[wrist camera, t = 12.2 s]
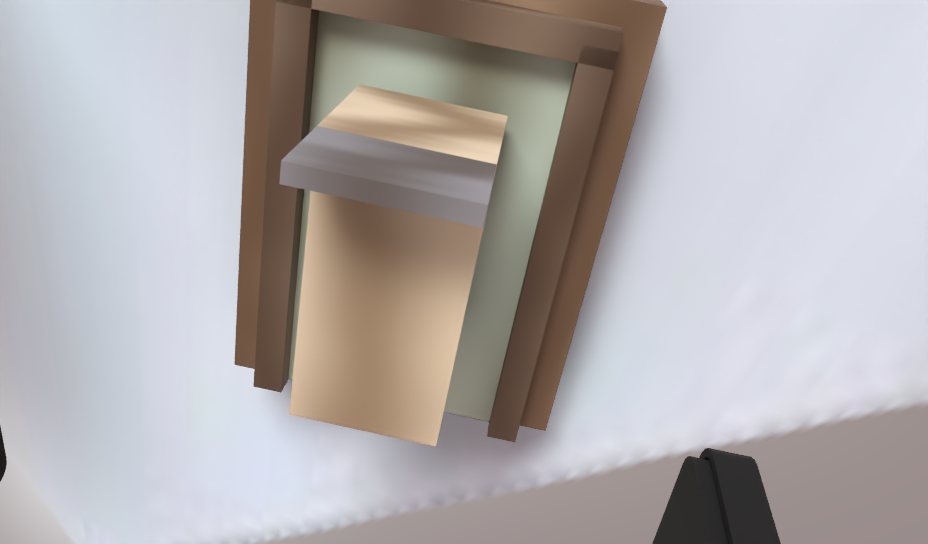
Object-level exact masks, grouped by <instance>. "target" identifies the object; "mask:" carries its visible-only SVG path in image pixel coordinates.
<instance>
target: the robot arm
mask: <svg viewBox="0 0 928 544" xmlns="http://www.w3.org/2000/svg"><path fill="white" fill-rule="evenodd" d="M5 469H6V454H5V448H4V443H3V438H2V432H1V427H0V481H1V479H2V477H3V475H4V472H5ZM653 544H781V543H780V540H779V537H778V533H777V530H776V527H775V523H774V520H773V517H772V513H771V510H770V507H769V503H768V500H767V497H766V493H765V490H764V486H763V483H762V480H761V476H760V473H759V470H758V466H757V464H756V462H755V460H754V459H753V458H752V457H749V456H744V455H739V454H734V453H729V452H725V451H719V450H715V449H710V448H707V449H705V450H704V451H703V452H702V453H701V455H700V457H699V458H696V457H691V456H688V457H687V458H686V459H685V461H684V463H683V465H682V468H681V470H680V473H679V475H678V478H677V481H676V483H675V486H674V489H673V491H672V494H671V496H670V499H669V502H668V504H667V507H666V510H665V512H664V515H663V518H662V521H661V523H660V525H659V528H658V531H657V533H656V536H655V538H654V541H653Z"/></svg>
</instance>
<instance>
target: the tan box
mask: <svg viewBox="0 0 928 544" xmlns="http://www.w3.org/2000/svg"><path fill="white" fill-rule="evenodd" d="M507 117H508V116H506V115H501V114H497V113H492V112H487V111H483V110H478V109H473V108H469V107H464V106H459V105H454V104H450V103H445V102H440V101H436V100H431V99H426V98H422V97H417V96H412V95H408V94H403V93H398V92H394V91H389V90H384V89H380V88H375V87H370V86H366V85H361V84H359V85H358V86H357V87H356V88H355V89H354V90H353V91H352V92H351V93H350V94H349V95H348V96H347V97H346V98H345V99H344V100H343V101H342V102H341V103H340V104H339V105H338V106H337V107H336V108H335V109H334V110H333V111H332V112H331V113H330V114H329V115H328V116H327V117H325V118H324V119H323V120H322V121H321V122H320V123H319V124H318V125H317V126H316V127H315V128H314V129H313V130H312V131H311V132H310V133H309V134H308V135H307V136H306V137H305V138H304V139H303V140H302V141H301V142H300V143H299V144H298V145H297V146H296V147H295V148H294V149H293V150H292V151H290V152H289V153H288V154H287V155H286V156H285V157H284V158H283V159H282V160H281V169H280V182H279V184H282V185H286V186H291V187H296V188H300V189H305V190H310V191H311V193H310V203H309V213H308V224H307V234H306V244H305V255H304V265H303V275H302V286H301V296H300V306H299V317H298V327H297V337H296V348H295V358H294V368H293V379H292V389H291V399H290V410H289V414H290V415H295V416H299V417H304V418H308V419H313V420H317V421H322V422H326V423H331V424H336V425H340V426H345V427H349V428H354V429H358V430H363V431H367V432H372V433H376V434H381V435H385V436H390V437H394V438H399V439H404V440H408V441H413V442H417V443H422V444H426V445H431V446H435V447H436V445H437V440H438V436H439V431H440V426H441V422H442V417H443V413H444V408H445V404H446V399H447V395H448V390H449V385H450V381H451V376H452V372H453V367H454V363H455V358H456V353H457V349H458V344H459V340H460V335H461V331H462V326H463V321H464V317H465V312H466V308H467V303H468V298H469V294H470V289H471V284H472V279H473V275H474V270H475V265H476V261H477V256H478V252H479V247H480V242H481V238H482V233H483V228H484V224H485V219H486V214H487V210H488V205H489V201H490V196H491V191H492V187H493V182H494V178H495V173H496V169H497V164H498V159H499V155H500V150H501V146H502V141H503V136H504V132H505V127H506V122H507Z"/></svg>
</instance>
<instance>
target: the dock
mask: <svg viewBox="0 0 928 544" xmlns="http://www.w3.org/2000/svg"><path fill="white" fill-rule="evenodd" d="M666 9H667V7H666V6H665V5H664V3H663V2H662V1H661V0H250V20H249V43H248V67H247V90H246V113H245V136H244V160H243V183H242V206H241V229H240V253H239V276H238V299H237V323H236V346H235V365H239V366H244V367H248V368H253V369H255V372H254V387H259V388H263V389H268V390H273V391H277V392H281V391H282V390H283V388H284V386H285V384H286V382H287V380H288V379H291V380H292V379H293V368H294V358H295V348H296V337H297V327H298V317H299V306H300V296H301V286H302V275H303V265H304V255H305V244H306V234H307V224H308V213H309V203H310V193H311V191H310V190H305V189H300V188H296V187H291V186H286V185H282V184H279V182H280V169H281V160H282V159H283V158H284V157H285V156H286V155H287V154H288V153H289V152H290V151H292V150H293V149H294V148H295V147H296V146H297V145H298V144H299V143H300V142H301V141H302V140H303V139H304V138H305V137H306V136H307V135H308V134H309V133H310V132H311V131H312V130H313V129H314V128H315V127H316V126H317V125H318V124H319V123H320V122H321V121H322V120H323V119H324V118H325V117H327V116H328V115H329V114H330V113H331V112H332V111H333V110H334V109H335V108H336V107H337V106H338V105H339V104H340V103H341V102H342V101H343V100H344V99H345V98H346V97H347V96H348V95H349V94H350V93H351V92H352V91H353V90H354V89H355V88H356V87H357V86H358V85H359V84H361V85H366V86H370V87H375V88H380V89H384V90H389V91H394V92H398V93H403V94H408V95H412V96H417V97H422V98H426V99H431V100H436V101H440V102H445V103H450V104H454V105H459V106H464V107H469V108H473V109H478V110H483V111H487V112H492V113H497V114H501V115H506V116H508V117H507V122H506V127H505V132H504V136H503V141H502V146H501V150H500V155H499V159H498V164H497V169H496V173H495V178H494V182H493V187H492V191H491V196H490V201H489V205H488V210H487V214H486V219H485V224H484V228H483V233H482V238H481V242H480V247H479V252H478V256H477V261H476V265H475V270H474V275H473V279H472V284H471V289H470V294H469V298H468V303H467V308H466V312H465V317H464V321H463V326H462V331H461V335H460V340H459V344H458V349H457V353H456V358H455V363H454V367H453V372H452V376H451V381H450V385H449V390H448V395H447V399H446V404H445V408H444V412H446V413H451V414H456V415H460V416H465V417H470V418H474V419H479V420H484V421H488V422H489V427H488V434H487V436H488V437H493V438H498V439H502V440H507V441H512V442H515V440H516V436H517V432H518V429H519V425H521V426H526V427H530V428H535V429H540V430H544V431H545V430H546V427H547V423H548V420H549V416H550V413H551V409H552V406H553V402H554V399H555V395H556V392H557V388H558V385H559V381H560V378H561V374H562V371H563V368H564V364H565V361H566V357H567V354H568V350H569V347H570V343H571V340H572V336H573V333H574V329H575V326H576V322H577V319H578V315H579V312H580V308H581V305H582V301H583V298H584V294H585V291H586V288H587V284H588V281H589V277H590V274H591V270H592V267H593V263H594V260H595V256H596V253H597V249H598V246H599V242H600V239H601V235H602V232H603V228H604V225H605V221H606V218H607V214H608V211H609V207H610V204H611V201H612V197H613V194H614V190H615V187H616V183H617V180H618V176H619V173H620V169H621V166H622V162H623V159H624V155H625V152H626V148H627V145H628V141H629V138H630V134H631V131H632V127H633V124H634V121H635V117H636V114H637V110H638V107H639V103H640V100H641V96H642V93H643V89H644V86H645V82H646V79H647V75H648V72H649V68H650V65H651V61H652V58H653V54H654V51H655V47H656V44H657V40H658V37H659V34H660V30H661V27H662V23H663V20H664V16H665V13H666Z"/></svg>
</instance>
